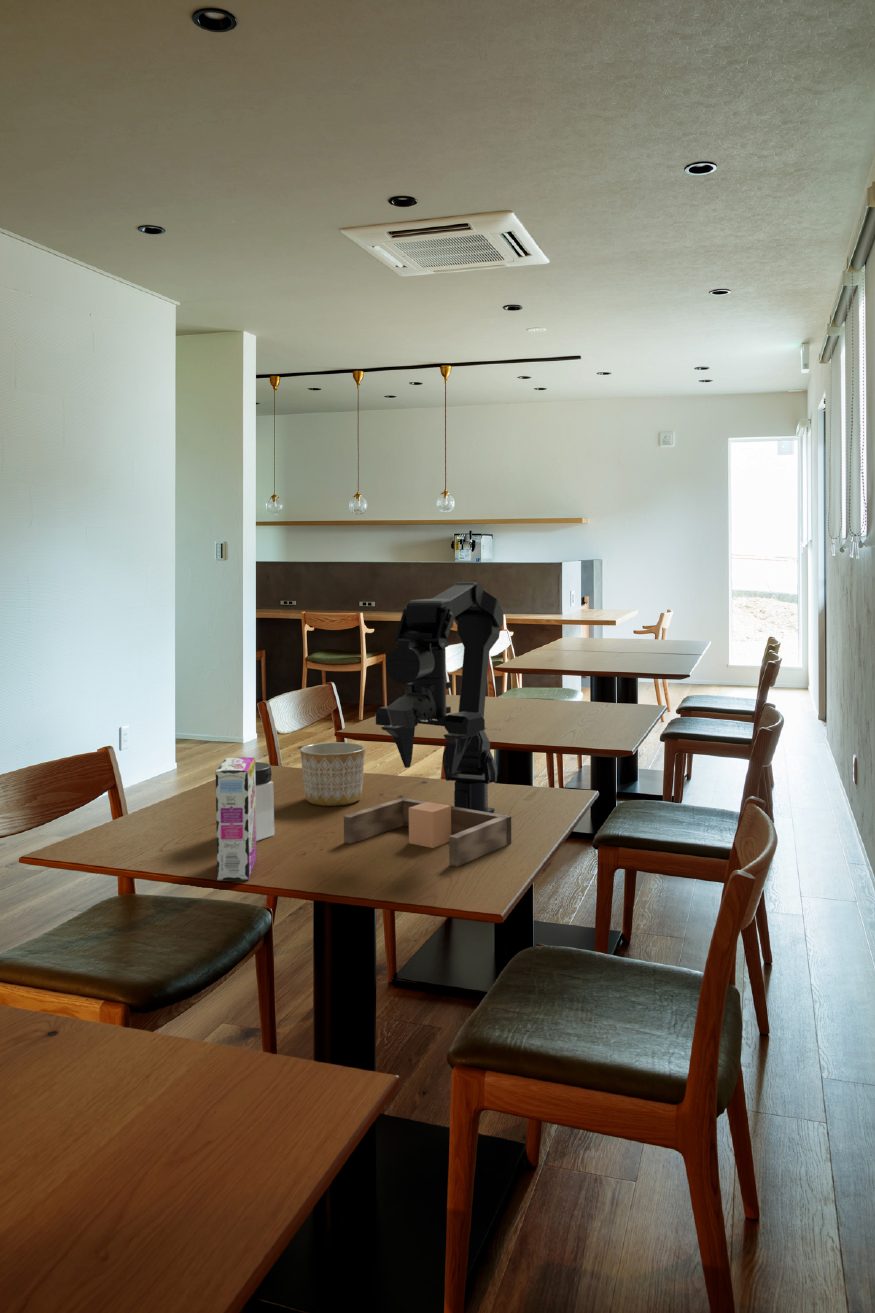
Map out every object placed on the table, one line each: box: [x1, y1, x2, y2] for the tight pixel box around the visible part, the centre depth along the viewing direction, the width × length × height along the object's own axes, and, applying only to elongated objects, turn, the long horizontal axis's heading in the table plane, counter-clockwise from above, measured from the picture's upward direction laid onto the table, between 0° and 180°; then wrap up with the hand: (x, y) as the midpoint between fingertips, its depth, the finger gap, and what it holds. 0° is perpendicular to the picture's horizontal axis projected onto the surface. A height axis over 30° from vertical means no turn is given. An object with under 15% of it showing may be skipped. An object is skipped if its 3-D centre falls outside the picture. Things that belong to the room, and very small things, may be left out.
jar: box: [255, 761, 275, 842], centre depth 165 cm, size 9×8×12 cm
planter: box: [299, 741, 366, 807], centre depth 189 cm, size 13×13×10 cm
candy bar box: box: [215, 756, 258, 882], centre depth 146 cm, size 11×5×16 cm, turn 5°
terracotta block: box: [408, 801, 452, 849], centre depth 160 cm, size 5×5×6 cm
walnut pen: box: [343, 797, 512, 868], centre depth 160 cm, size 16×23×4 cm
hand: (429, 770), depth 159 cm, fingers open, 9 cm apart
